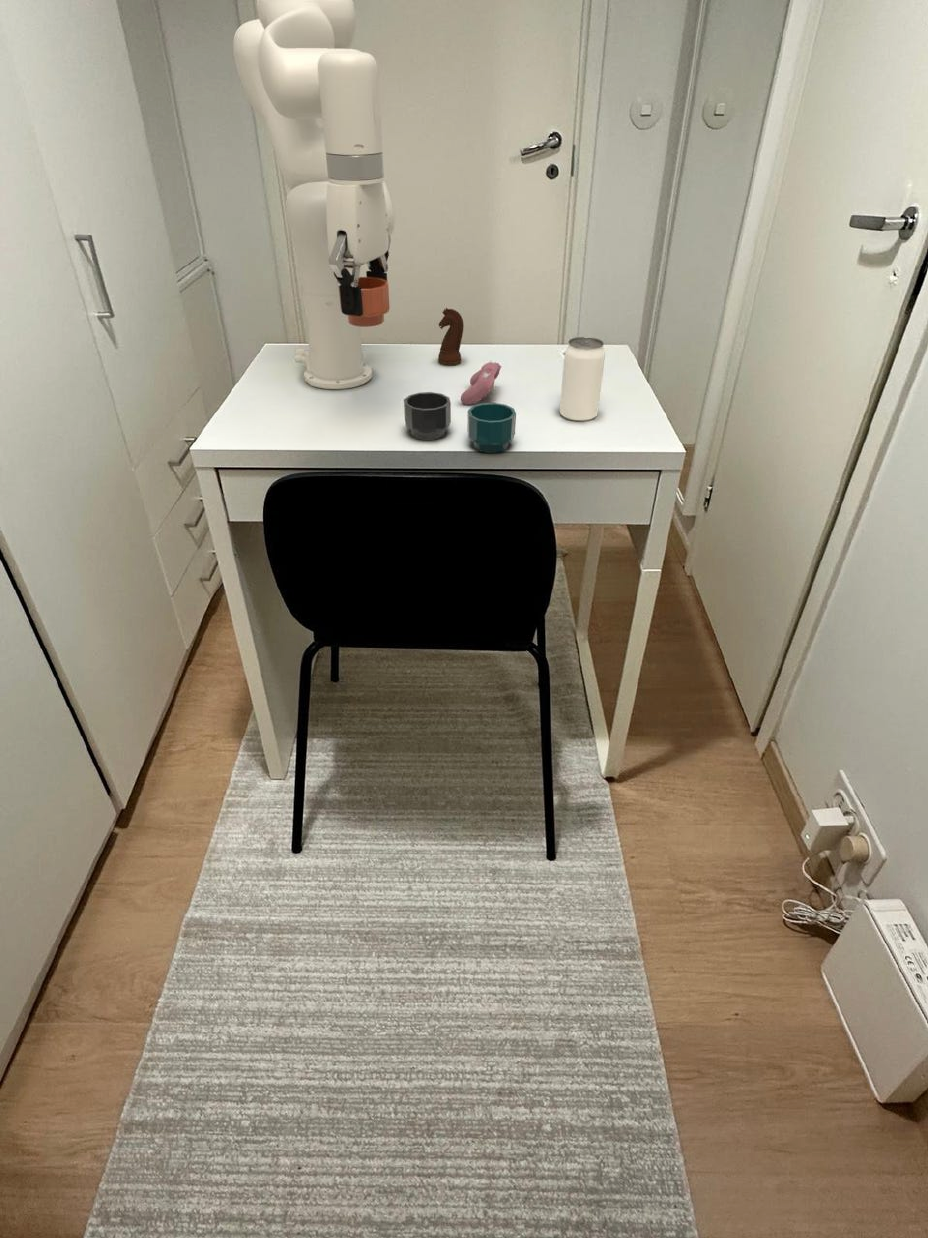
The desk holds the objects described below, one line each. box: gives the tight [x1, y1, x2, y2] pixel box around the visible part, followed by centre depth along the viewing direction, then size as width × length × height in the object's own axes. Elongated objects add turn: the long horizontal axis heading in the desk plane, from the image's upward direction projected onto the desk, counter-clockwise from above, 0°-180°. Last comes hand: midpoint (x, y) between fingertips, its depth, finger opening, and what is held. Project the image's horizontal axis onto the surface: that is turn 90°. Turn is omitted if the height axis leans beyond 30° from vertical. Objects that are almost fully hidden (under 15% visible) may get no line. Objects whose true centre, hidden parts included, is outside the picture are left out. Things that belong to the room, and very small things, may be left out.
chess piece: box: [437, 307, 465, 367], centre depth 140 cm, size 5×5×10 cm
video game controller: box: [460, 359, 502, 405], centre depth 127 cm, size 10×5×7 cm, turn 168°
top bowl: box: [466, 402, 517, 454], centre depth 112 cm, size 7×7×5 cm
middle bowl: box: [338, 276, 390, 328], centre depth 108 cm, size 7×7×5 cm
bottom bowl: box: [403, 391, 452, 441], centre depth 115 cm, size 7×7×5 cm
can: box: [559, 336, 606, 422], centre depth 119 cm, size 6×6×12 cm
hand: (365, 306), depth 108 cm, fingers closed on middle bowl, 7 cm apart
